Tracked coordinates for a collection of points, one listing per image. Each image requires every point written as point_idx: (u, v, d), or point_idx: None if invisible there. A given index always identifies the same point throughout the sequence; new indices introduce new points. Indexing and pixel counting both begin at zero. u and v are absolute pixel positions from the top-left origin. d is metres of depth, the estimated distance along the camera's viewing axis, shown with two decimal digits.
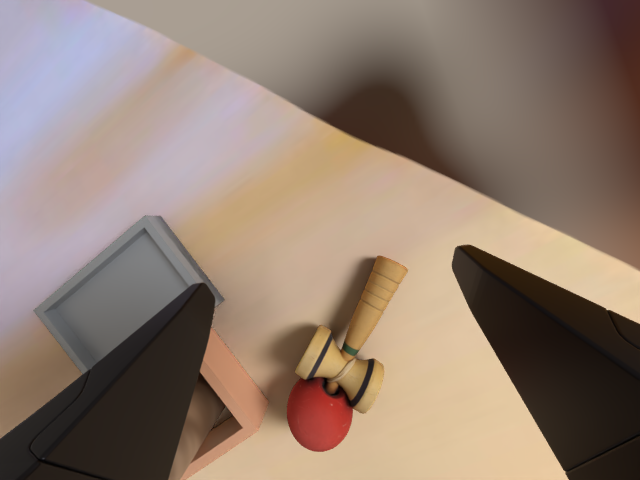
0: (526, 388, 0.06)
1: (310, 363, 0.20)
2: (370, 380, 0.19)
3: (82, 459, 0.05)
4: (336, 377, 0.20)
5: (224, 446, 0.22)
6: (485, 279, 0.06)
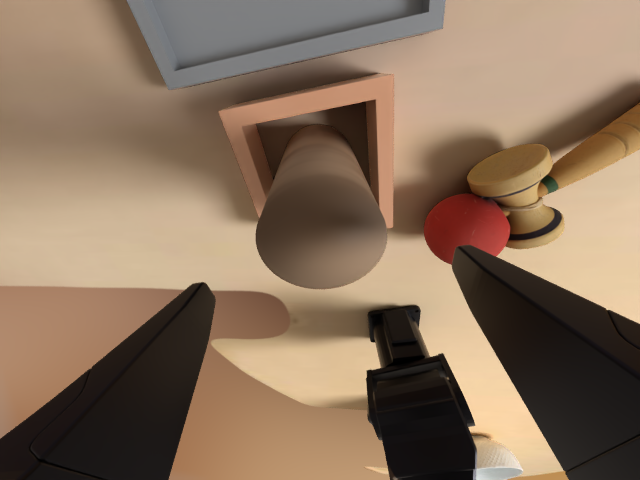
0: (526, 388, 0.06)
1: (533, 180, 0.15)
2: (559, 223, 0.17)
3: (82, 459, 0.05)
4: (524, 207, 0.17)
5: None
6: (485, 279, 0.06)
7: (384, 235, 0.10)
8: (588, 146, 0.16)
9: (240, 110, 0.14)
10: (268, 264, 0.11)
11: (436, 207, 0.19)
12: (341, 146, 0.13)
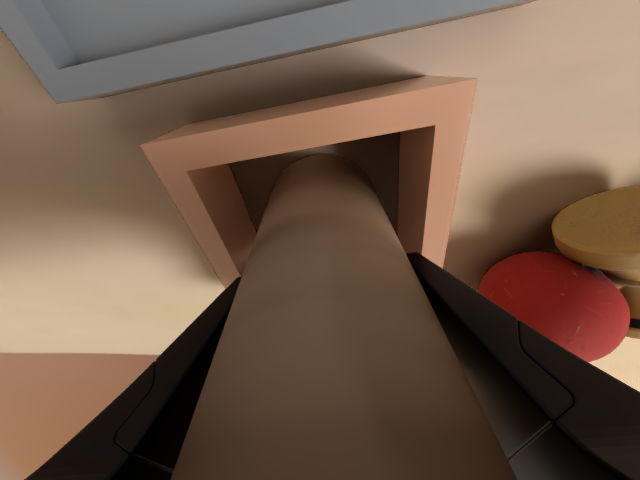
0: None
1: None
2: None
3: (162, 453, 0.04)
4: None
5: None
6: (422, 287, 0.07)
7: None
8: None
9: (180, 143, 0.07)
10: None
11: (502, 272, 0.13)
12: (369, 212, 0.07)
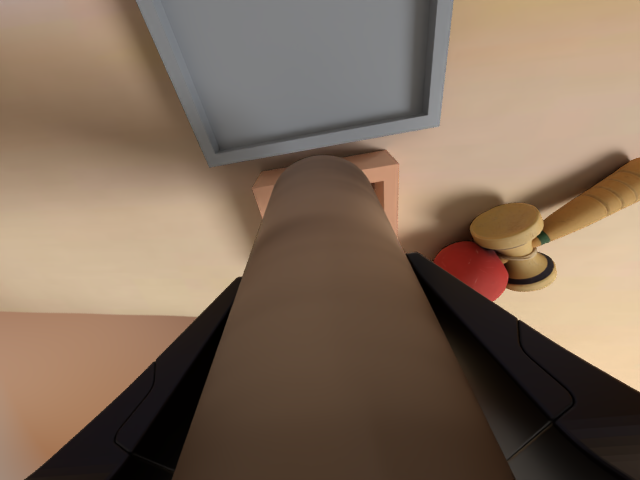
0: None
1: (527, 239, 0.18)
2: (552, 271, 0.20)
3: (162, 453, 0.04)
4: (520, 257, 0.20)
5: None
6: (422, 287, 0.07)
7: None
8: (575, 206, 0.19)
9: (270, 188, 0.16)
10: None
11: (443, 253, 0.22)
12: (369, 213, 0.07)
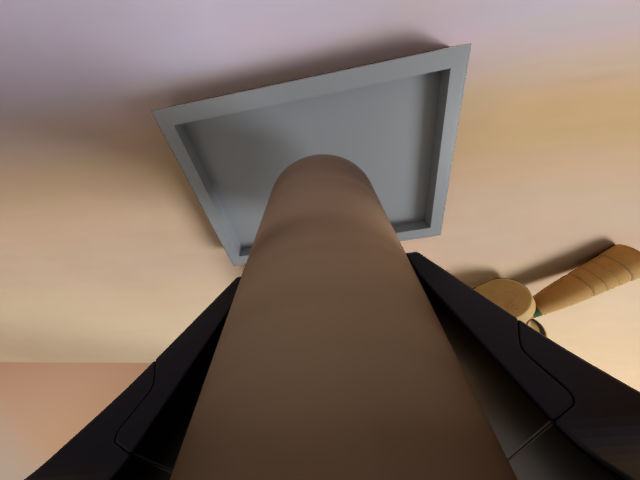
0: None
1: None
2: None
3: (162, 453, 0.04)
4: None
5: None
6: None
7: None
8: (564, 286, 0.21)
9: None
10: None
11: None
12: (370, 212, 0.07)
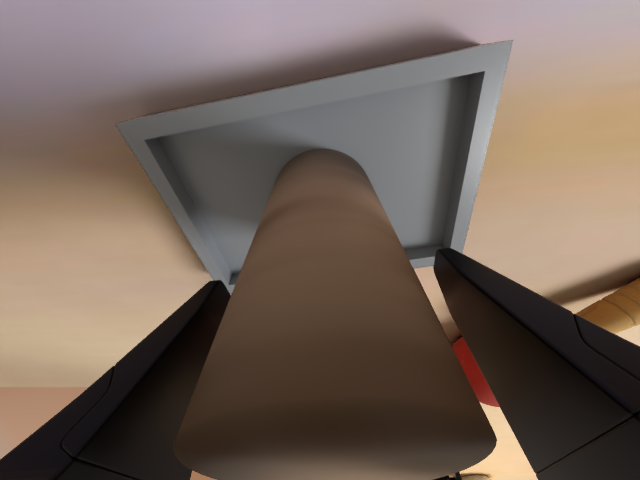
0: (500, 390, 0.06)
1: None
2: None
3: (111, 457, 0.04)
4: None
5: None
6: (461, 282, 0.07)
7: (484, 454, 0.04)
8: (600, 315, 0.19)
9: None
10: (216, 477, 0.05)
11: (462, 348, 0.22)
12: (364, 197, 0.08)
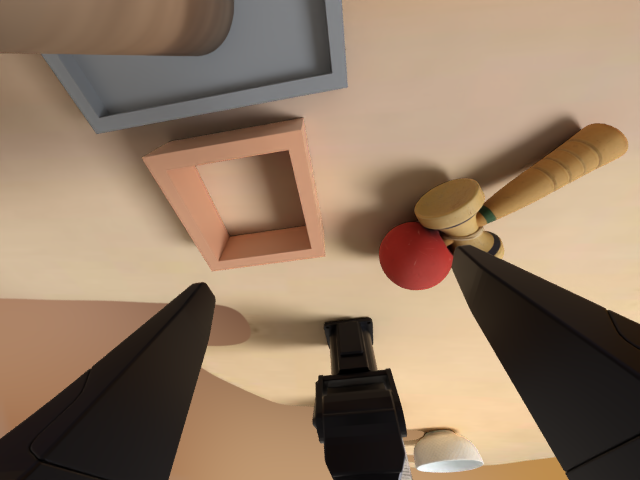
0: (526, 388, 0.06)
1: (465, 217, 0.16)
2: (497, 251, 0.18)
3: (82, 460, 0.05)
4: (464, 237, 0.18)
5: (281, 257, 0.20)
6: (485, 279, 0.06)
7: None
8: (521, 180, 0.17)
9: (162, 157, 0.14)
10: None
11: (387, 235, 0.21)
12: None
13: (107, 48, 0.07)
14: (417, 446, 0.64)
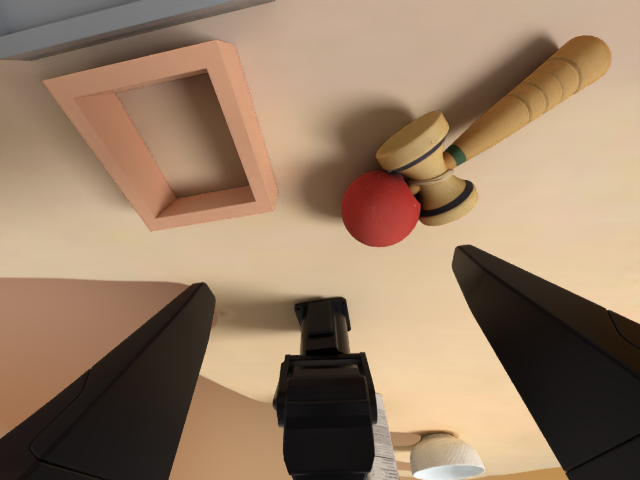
0: (526, 388, 0.06)
1: (425, 148, 0.14)
2: (469, 195, 0.16)
3: (82, 459, 0.05)
4: (430, 180, 0.16)
5: (224, 213, 0.18)
6: (485, 279, 0.06)
7: None
8: (492, 111, 0.15)
9: (65, 79, 0.13)
10: None
11: (349, 186, 0.18)
12: None
13: None
14: (413, 451, 0.59)
